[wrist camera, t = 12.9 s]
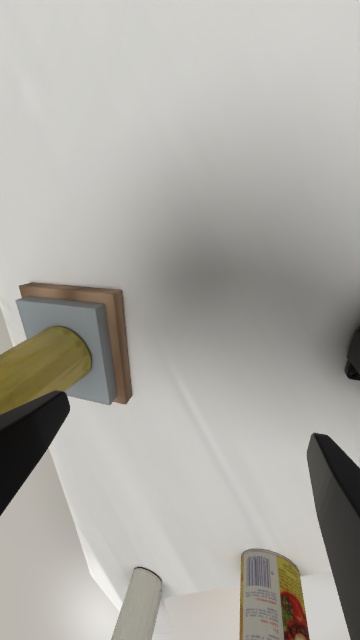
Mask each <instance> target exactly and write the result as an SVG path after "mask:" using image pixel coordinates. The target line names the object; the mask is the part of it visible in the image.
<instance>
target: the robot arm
mask: <svg viewBox="0 0 360 640" xmlns="http://www.w3.org/2000/svg"><path fill="white" fill-rule="evenodd" d="M347 358H348V363H347V366H346V369H345V374H346V375H347V377H348V378H349V379H353V380H360V328H359V329H357V330H356V332H355V335H354V338H353V341H352V344H351V346H350V349H349V352H348V355H347ZM351 372H355V373H354V374H350V373H351ZM69 411H70V405H69V401H68V397H67V394H66V393H65V392H64V391H59V390H54V391H52V392H50V393H47V394H45V395H43V396H41V397H39V398H36V399H34V400H32V401H30V402H27V403H25V404H23V405H21V406H19V407H16V408H14V409H12V410H10V411H8V412H5V413H3V414H1V415H0V516H1V514H2V513H3V511H4V510H5V509H6V507H7V506H8V504H9V503H10V502H11V500H12V499H13V497H14V496H15V495H16V493H17V492H18V490H19V489H20V487H21V486H22V485H23V483H24V482H25V480H26V479H27V477H28V476H29V475H30V473H31V472H32V470H33V469H34V468H35V466H36V465H37V463H38V462H39V461H40V459H41V458H42V456H43V455H44V453H45V452H46V450H47V449H48V447H49V446H50V444H51V442H52V441H53V439H54V437H55V436H56V434H57V432H58V431H59V429H60V427H61V425H62V424H63V422H64V420H65V419H66V417H67V415H68V414H69ZM307 461H308V467H309V472H310V478H311V484H312V490H313V496H314V502H315V507H316V512H317V517H318V521H319V525H320V529H321V533H322V537H323V540H324V544H325V547H326V551H327V555H328V558H329V562H330V566H331V569H332V573H333V577H334V580H335V584H336V587H337V591H338V595H339V599H340V602H341V606H342V609H343V613H344V617H345V620H346V624H347V628H348V631H349V635H350V638H351V640H360V468H359V467H358V466H357V465H356V464H355V463H354V462H353V461H352V460H351V459H350V458H349V457H348V456H347V454H346V453H345V452H344V451H343V450H342V449H341V448H340V447H339V446H338V445H337V444H336V443H335V442H334V441H333V440H332V439H331V438H330V437H329V436H328V435H324V434H318V433H313V434H312V435H311V438H310V442H309V446H308V449H307Z"/></svg>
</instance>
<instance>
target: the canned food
mask: <svg viewBox="0 0 360 640" xmlns="http://www.w3.org/2000/svg"><path fill="white" fill-rule="evenodd" d="M240 640H310V639H309V633H308V626H307V620H306V613H305V607H304V600H303V593H302V587H301V580H300V574H299V570H298V569H297V567H296V566H295V565H294V564H293V563H292V562H291V561H290V560H288V559H287V558H285V557H284V556H281V555H279V554H277V553H274V552H271V551H268V550H262V549H251V550H247V551H245V552H244V553H243V554H242V556H241V593H240Z"/></svg>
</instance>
